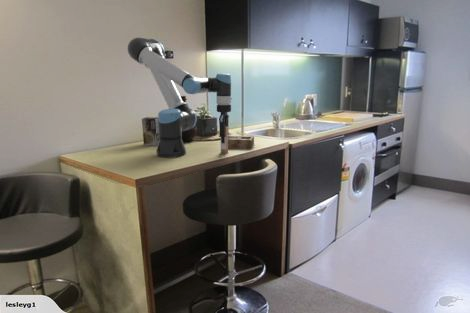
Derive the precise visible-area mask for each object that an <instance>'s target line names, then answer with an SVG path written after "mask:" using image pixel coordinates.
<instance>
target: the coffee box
mask: <svg viewBox="0 0 470 313" xmlns="http://www.w3.org/2000/svg"><path fill="white" fill-rule="evenodd" d="M141 125H142V128H141V129H142V137H143V140H142V141H143V146H153V147H158V144H159V125H158V116H156V117H153V116H152V117H151V116H149V117H148V116H147V117H144V118H141Z"/></svg>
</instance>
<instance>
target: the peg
mask: <svg viewBox="0 0 470 313" xmlns="http://www.w3.org/2000/svg"><path fill="white" fill-rule="evenodd" d="M228 132H229V126H228V127H226V134H225V136H226V149H221V148H220V154H223V155H224V154H228V153H229V148H228Z"/></svg>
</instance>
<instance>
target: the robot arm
mask: <svg viewBox="0 0 470 313" xmlns="http://www.w3.org/2000/svg"><path fill="white" fill-rule="evenodd" d="M127 53H128V55H129V57H130V58H131V59H132V60H134V61H135V62H137V63H138V64H140V65H144V66H145V68H147V69H149V70H150V72H151V74H152V77H153V78H154V80H155V82H156V85H157V86H158V88H159V91H160V92H161V95H162V96H163V99H164V101H165V103H166V105H167V107H168V108H167V109H163V110H160V111H158V114H157V117H158V125H159V144H158V146H157V148H156V156H157V157H161V158H177V157H178V158H179V157H182V156H185V155H187V154H186V153H187V150H186V146H185V145H184V142H183V141H182V131H185V130H189V129H191V128H193V127H194V126H195V125H197V121H198V117H197V113H196V111H195V110H194V109H192V108H190V107H189V104H188V103H187V102H186V103H185V102H183V100H182V98H181V96H182V95H181V94H180V92H179V90H178V88H177V87H176V85H178V86H180V87H181V88H182V89H183V91H184V92H185V93H186V94H188V95H196V94H203V93H216V104H217V105H216V112H217V113H220V115H219V117H218V123H219V126H218V127H219V135H218V137H219V138H220V150H221V149H226V136H225V134H226V127H228V128H229V118H230V116H229V114H228V113H230V112H232V105H231V103H232V100H233V98H232V80H231V79H232V78H231V77H232V76H231V74H229V73H217V74H216V75H215V77H203V76H201V77H195V76H194V75H192V74H191V73H189V72H187V71H186V70H184V69H182V68H181V67H179V65H178V66H177V65H176V64H174V63H172V62H171V61H169V60H168V59H166V56H165V53H166V52H165V48H164V45H163V44H162V43H161V42H160V41H159V40H156V39H154V38H144V37H134V38H132V39H131V40H130V41H128V45H127ZM228 135H230V133H229V131H228Z"/></svg>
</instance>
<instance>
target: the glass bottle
mask: <svg viewBox="0 0 470 313" xmlns="http://www.w3.org/2000/svg"><path fill="white" fill-rule="evenodd" d="M180 96H181V98H182V100H183V102H185V103H187V100H188V98H187V96H185V95H180ZM197 128H198V127H197V124H195V126H194V127H193V128H191V129H189V130H185V131H182V141H183V143H185V142H190V141H191V140H193V139H194V138H195V137H196V135H197V133H198V129H197Z"/></svg>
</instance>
